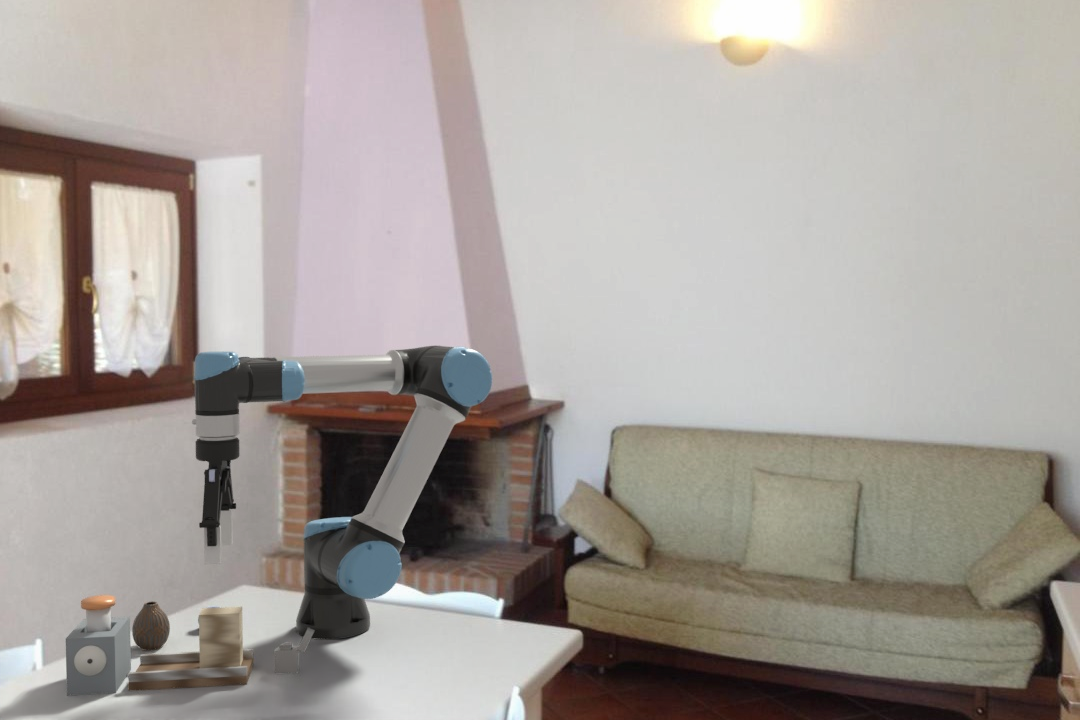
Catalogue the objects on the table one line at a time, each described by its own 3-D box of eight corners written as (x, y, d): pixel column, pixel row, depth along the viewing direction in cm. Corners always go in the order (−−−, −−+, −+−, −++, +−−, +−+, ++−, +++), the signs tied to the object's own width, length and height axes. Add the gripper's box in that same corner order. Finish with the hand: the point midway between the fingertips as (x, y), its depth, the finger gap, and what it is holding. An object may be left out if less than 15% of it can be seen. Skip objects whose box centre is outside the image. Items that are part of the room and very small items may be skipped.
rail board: (253, 664, 188) (253, 648, 188) (246, 684, 179) (246, 667, 178) (141, 670, 185) (141, 654, 185) (128, 690, 175) (128, 674, 175)
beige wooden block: (242, 659, 185) (242, 606, 184) (240, 667, 181) (239, 613, 181) (203, 661, 184) (202, 608, 183) (199, 669, 180) (198, 615, 179)
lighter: (274, 673, 184) (274, 630, 183) (276, 670, 185) (275, 627, 185) (313, 672, 184) (313, 630, 184) (315, 669, 186) (314, 626, 185)
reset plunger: (119, 637, 182) (118, 594, 182) (111, 648, 177) (110, 603, 176) (87, 639, 181) (86, 595, 181) (77, 650, 176) (76, 605, 175)
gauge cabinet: (131, 669, 185) (129, 616, 185) (114, 694, 174) (113, 637, 173) (85, 672, 184) (83, 618, 183) (65, 696, 173) (64, 639, 172)
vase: (157, 654, 194) (156, 609, 193) (125, 651, 195) (124, 607, 195) (177, 642, 200) (176, 599, 200) (146, 639, 202) (145, 597, 201)
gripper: (207, 429, 192) (209, 538, 193) (182, 447, 167) (184, 573, 168) (247, 428, 193) (249, 537, 194) (228, 446, 168) (230, 571, 170)
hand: (219, 554), depth 181 cm, fingers open, 13 cm apart
